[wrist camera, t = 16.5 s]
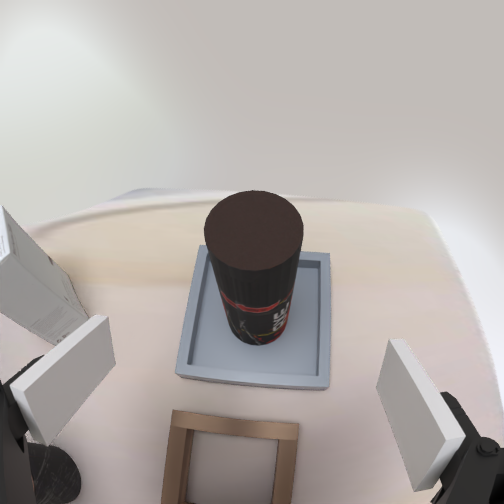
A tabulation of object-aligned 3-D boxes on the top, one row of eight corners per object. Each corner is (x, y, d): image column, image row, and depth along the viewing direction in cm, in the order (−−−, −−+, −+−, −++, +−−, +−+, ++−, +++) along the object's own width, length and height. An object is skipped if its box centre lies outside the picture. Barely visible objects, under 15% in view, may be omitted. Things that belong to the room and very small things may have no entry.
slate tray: (181, 377, 29) (174, 372, 27) (203, 256, 37) (199, 244, 34) (324, 390, 28) (328, 386, 26) (326, 264, 35) (329, 253, 33)
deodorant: (270, 355, 29) (276, 287, 17) (217, 328, 31) (184, 244, 18) (297, 305, 32) (318, 210, 19) (246, 282, 34) (235, 179, 21)
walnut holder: (168, 510, 22) (159, 517, 19) (181, 411, 27) (172, 409, 25) (284, 526, 21) (286, 535, 18) (295, 424, 26) (299, 423, 24)
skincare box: (91, 321, 33) (14, 253, 20) (56, 349, 31) (-31, 295, 18) (67, 273, 36) (2, 200, 23) (35, 299, 34) (-36, 235, 22)
